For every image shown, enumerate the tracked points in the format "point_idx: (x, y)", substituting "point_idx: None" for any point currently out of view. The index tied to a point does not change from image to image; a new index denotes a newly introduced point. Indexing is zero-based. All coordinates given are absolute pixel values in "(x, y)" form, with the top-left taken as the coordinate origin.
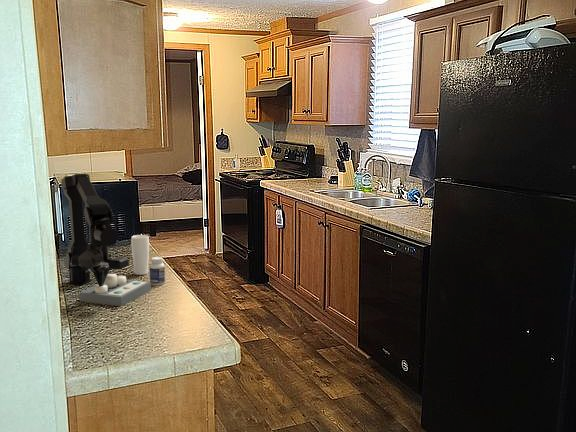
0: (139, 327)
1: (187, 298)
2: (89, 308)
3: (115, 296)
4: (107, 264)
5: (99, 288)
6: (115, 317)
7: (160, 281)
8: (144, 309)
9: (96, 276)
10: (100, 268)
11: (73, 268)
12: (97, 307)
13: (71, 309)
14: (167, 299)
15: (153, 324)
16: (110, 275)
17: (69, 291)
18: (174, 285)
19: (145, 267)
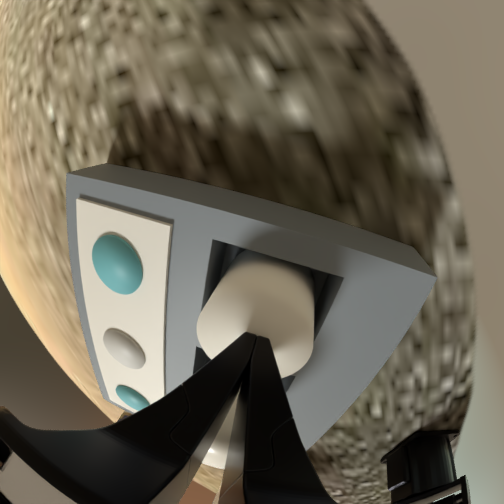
0: (28, 3)
1: (8, 278)
2: (286, 85)
3: (98, 183)
4: (1, 482)
5: (245, 287)
6: (91, 15)
7: (120, 417)
8: (29, 147)
9: (266, 420)
10: (42, 475)
11: (446, 482)
12: (235, 112)
13: (405, 68)
14: (28, 272)
15: (6, 40)
16: (213, 452)
17: (463, 379)
18: (95, 395)
19: (219, 491)
